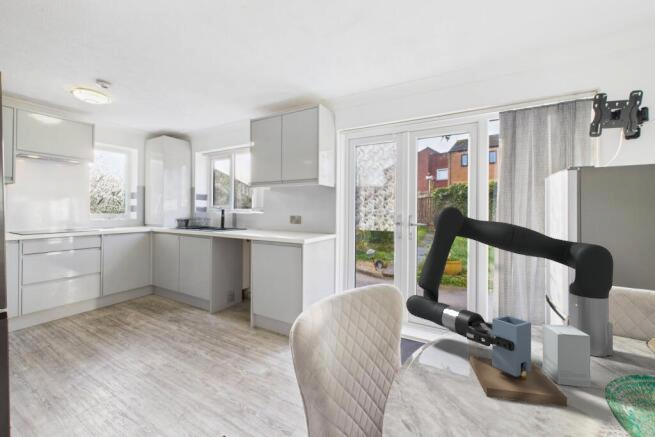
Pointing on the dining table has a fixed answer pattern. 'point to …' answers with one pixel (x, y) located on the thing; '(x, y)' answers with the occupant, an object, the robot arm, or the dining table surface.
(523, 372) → the post
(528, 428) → the dining table surface
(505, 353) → the sleeve
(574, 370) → the supplement box
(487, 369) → the base plate
